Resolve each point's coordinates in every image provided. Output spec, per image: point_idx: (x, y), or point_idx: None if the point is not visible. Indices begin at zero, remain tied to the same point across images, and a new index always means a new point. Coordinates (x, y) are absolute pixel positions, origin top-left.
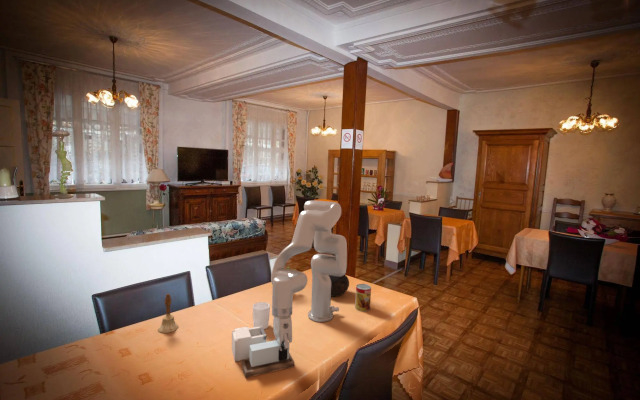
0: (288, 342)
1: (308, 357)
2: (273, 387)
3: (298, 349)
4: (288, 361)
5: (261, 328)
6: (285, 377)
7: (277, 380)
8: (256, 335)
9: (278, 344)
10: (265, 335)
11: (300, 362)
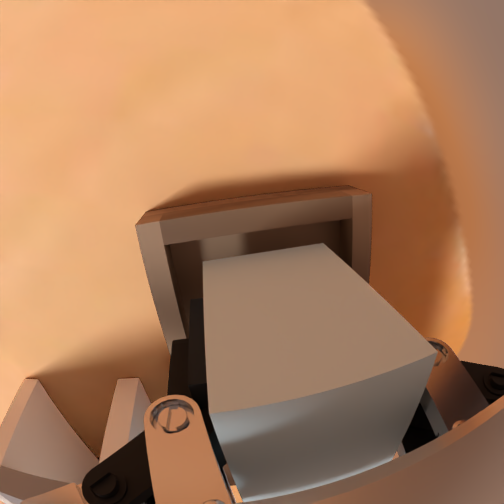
0: (398, 371)
1: (246, 20)
2: (445, 334)
3: (84, 91)
4: (298, 233)
5: (11, 499)
6: (422, 272)
7: (420, 317)
8: (36, 470)
9: (365, 470)
10: None
11: (306, 112)
